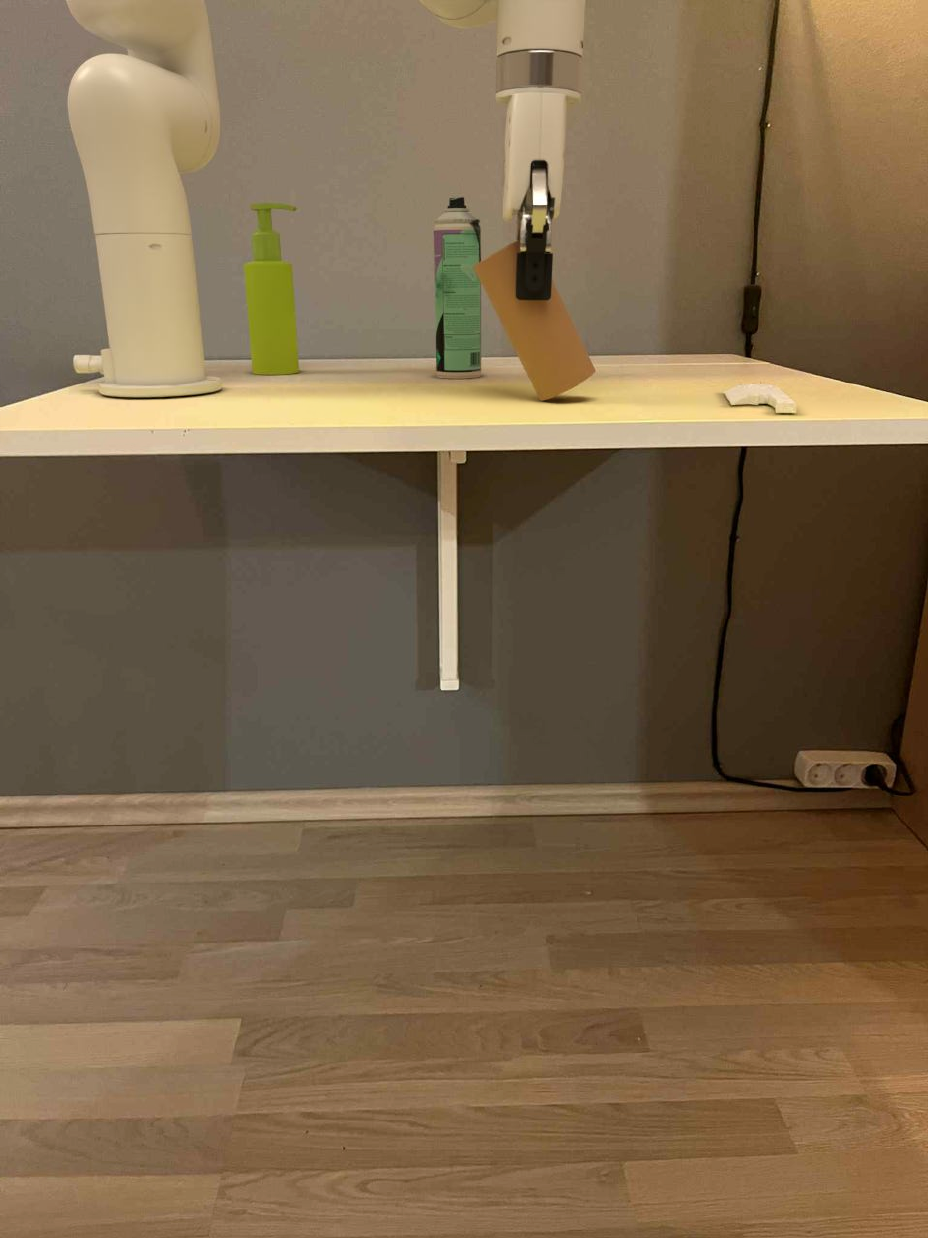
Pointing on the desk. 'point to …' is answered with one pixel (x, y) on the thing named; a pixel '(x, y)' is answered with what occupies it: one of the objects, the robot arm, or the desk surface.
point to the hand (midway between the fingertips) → (530, 296)
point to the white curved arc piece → (761, 396)
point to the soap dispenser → (270, 300)
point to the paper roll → (535, 328)
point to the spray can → (457, 292)
